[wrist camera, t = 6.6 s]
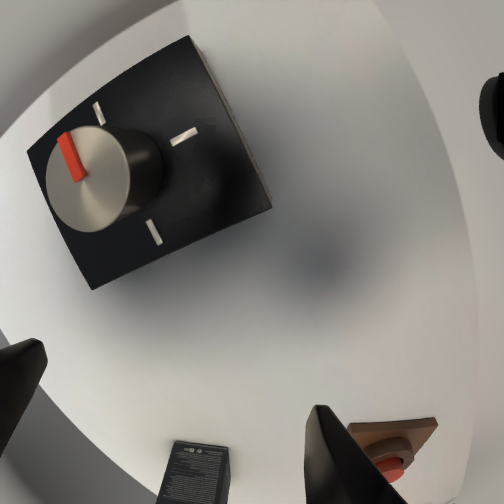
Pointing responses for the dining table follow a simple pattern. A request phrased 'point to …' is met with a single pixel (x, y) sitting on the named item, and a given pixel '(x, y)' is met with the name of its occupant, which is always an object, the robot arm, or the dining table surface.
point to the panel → (164, 162)
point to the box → (196, 475)
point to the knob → (102, 175)
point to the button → (391, 468)
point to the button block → (393, 438)
